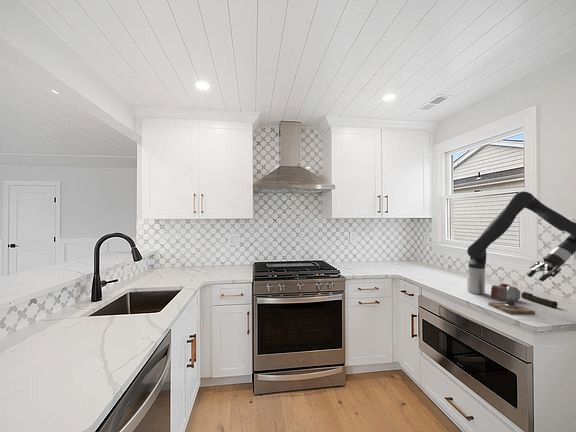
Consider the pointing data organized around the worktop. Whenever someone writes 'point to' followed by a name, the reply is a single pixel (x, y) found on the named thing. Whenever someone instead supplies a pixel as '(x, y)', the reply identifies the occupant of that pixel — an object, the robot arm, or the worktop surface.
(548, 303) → the hand tool
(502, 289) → the food item
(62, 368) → the worktop surface
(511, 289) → the round metal knob
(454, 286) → the worktop surface
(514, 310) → the walnut board
